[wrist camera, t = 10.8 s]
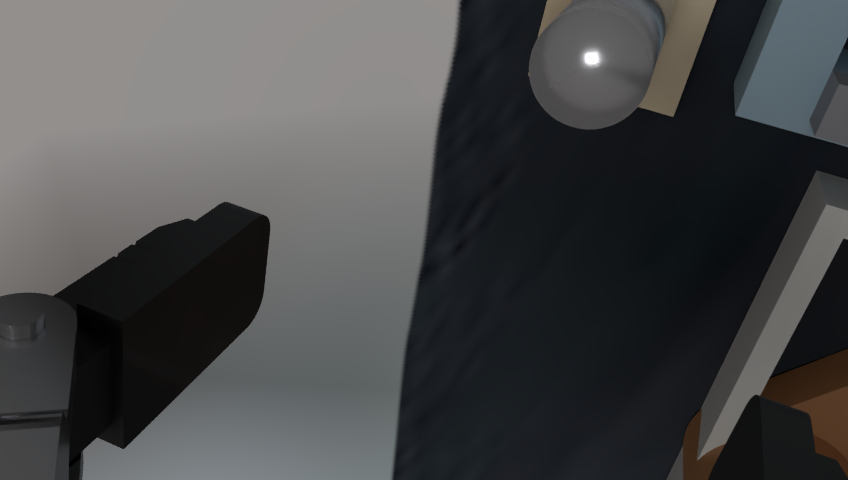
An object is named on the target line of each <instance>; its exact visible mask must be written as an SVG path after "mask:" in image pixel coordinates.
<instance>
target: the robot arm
mask: <svg viewBox="0 0 848 480" xmlns="http://www.w3.org/2000/svg"><path fill="white" fill-rule="evenodd" d="M269 236H270V222H269V219H268V217H267V216H264V215H262V214H259V213H256V212H254V211H251V210H248V209H245V208H242V207H239V206H237V205H234V204H231V203H228V202H224V203H221V204H219V205H218V206H216V207H215V208H214V209H212V210H211V211H209V212H208V213H206V214H205V215H203V216H202V217H201V218H199V219H198V220H196V221H193V220H190V219H185V220H181V221H178V222H174V223H171V224H167V225H164V226H160V227H158V228H156V229H155V230H153V231H152V232H150V233H148V234H147V235H145V236H144V237H142V238H141V239H139V240H138V241H136V244H135V245H130V246H129V247H127V248H126V249H124V250H123V251H121V252H120V253H118V256H117V257H112V258H110V259H109V260H107V261H106V262H105V263H103V264H101V265H100V266H98V267H97V268H95V269H94V270H92V271H91V272H89V273H88V274H86V275H84V276H83V277H81V278H80V279H78V280H77V281H75V282H74V283H72V284H71V285H69V286H68V287H66V288H65V289H63V290H62V291H60V292H59V293H57V294H55V295H54V296H51V295H47V294H40V293H16V294H9V295H5V296H1V297H0V480H82V476H83V450H84V449H85V448H86V447H87V446H88V445H89V444H90V443H91V442H92V441H93V440H95V439H96V438H97V437H98V438H100V439H102V440H105V441H107V442H109V443H111V444H113V445H116V446H118V447H120V448H122V449H124V448H125V447H126V446H127V445H128V444H129V443H131V441H133V439H135V438H136V437H137V436H138V435H139V434H140V433H141V431H143V430H144V429H145V427H147V426H148V425H149V424H150V423H151V421H153V420H154V419H155V418H156V417H157V416H158V415H159V414H160V413H161V412H162V411H163V410H164V409H165V408H166V407H167V406H168V405H169V404H170V403H171V402H172V401H173V400H174V399H175V398H176V397H177V396H178V395H179V394H180V393H181V392H182V391H183V390H184V389H185V388H186V387H187V386H188V385H189V384H190V383H191V382H192V381H193V380H194V379H195V378H196V377H197V376H198V375H200V374H201V372H202V371H204V369H206V368H207V367H208V366H209V365H210V364H211V363H212V362H213V361H214V360H215V359H216V358H217V357H218V356H219V355H220V354H221V353H222V352H223V351H224V350H225V349H226V348H227V347H228V346H229V345H230V344H231V343H232V342H233V341H234V340H235V339H236V338H237V337H238V336H239V335H240V334H241V333H242V332H243V331H244V330H245V329H246V328H247V327H248V326H249V325H250V324H251V322H252V321H253V319H254V318H255V315H256V314H257V312H258V309H259V307H260V304H261V301H262V298H263V293H264V284H265V275H266V265H267V255H268V245H269ZM708 480H848V477H847V475H846V474H845V472H844V471H843V469H842V468H841V466H840V465H839V463H838V462H837V460H834V459H832V458H829V457H826V456H824V455H821V454H818V453H816V451H815V444H814V437H813V430H812V423H811V418H810V415H809V414H808V413H807V412H804V411H801V410H798V409H795V408H793V407H790V406H787V405H784V404H782V403H779V402H776V401H773V400H771V399H768V398H765V397H762V396H759V395H754V396H753V397H752V398H751V399H750V400H749V401H748V403H747V405H746V406H745V408H744V410H743V412H742V414H741V416H740V417H739V419H738V421H737V423H736V425H735V427H734V429H733V431H732V432H731V434H730V436H729V438H728V440H727V442H726V444H725V445H724V447H723V449H722V451H721V453H720V455H719V457H718V459H717V460H716V462H715V464H714V466H713V468H712V470H711V473H710V475H709V478H708Z"/></svg>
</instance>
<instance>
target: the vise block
mask: <svg viewBox="0 0 848 480" xmlns="http://www.w3.org/2000/svg"><path fill="white" fill-rule="evenodd" d="M847 38H848V0H767V1H766V4H765V6H764V9H763V11H762V14H761V16H760V19H759V21H758V24H757V26H756V29H755V31H754V34H753V36H752V39H751V41H750V44H749V46H748V49H747V51H746V54H745V56H744V59H743V61H742V64H741V66H740V69H739V71H738V74H737V76H736V79H735V81H734V100H735V116H739V117H743V118H746V119H750V120H753V121H757V122H760V123H764V124H768V125H771V126H775V127H778V128H782V129H785V130H789V131H793V132H796V133H800V134H803V135H807V136H810V137H814V138H818V139H821V140H825V141H828V142H832V143H835V144H839V145H843V146H846V147H848V49H844V48H843V46H844V44H845V42H846V40H847Z"/></svg>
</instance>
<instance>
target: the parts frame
mask: <svg viewBox="0 0 848 480" xmlns="http://www.w3.org/2000/svg"><path fill="white" fill-rule="evenodd" d="M843 238H844V239H847V240H848V179H845V178H841V177H838V176H834V175H831V174H827V173H824V172H820V171H817V170H816V172H815V175H814V177H813V179H812V181H811V183H810V185H809V187H808V189H807V191H806V193H805V195H804V197H803V199H802V201H801V203H800V205H799V207H798V210H797V212H796V214H795V216H794V218H793V220H792V222H791V224H790V226H789V228H788V230H787V232H786V234H785V236H784V238H783V240H782V242H781V245H780V247H779V249H778V251H777V253H776V255H775V257H774V259H773V261H772V263H771V265H770V267H769V269H768V271H767V273H766V275H765V277H764V280H763V282H762V284H761V286H760V288H759V290H758V292H757V294H756V296H755V298H754V300H753V302H752V304H751V306H750V308H749V310H748V312H747V315H746V317H745V319H744V321H743V323H742V325H741V327H740V329H739V331H738V333H737V335H736V337H735V339H734V341H733V343H732V345H731V347H730V350H729V352H728V354H727V356H726V358H725V360H724V362H723V364H722V366H721V368H720V370H719V372H718V374H717V376H716V378H715V380H714V382H713V385H712V387H711V389H710V391H709V393H708V395H707V397H706V399H705V401H704V403H703V405H702V407H701V409H702V413H701V425H700V435H699V444H698V454H697V460H699V459H700V458H701V457H702V456H703V455H705V454H706V453H707V452H709V451H711V450H712V449H714V448H716V447H719V446H721V445H723V444H726V442H727V440H728V438H729V436H730V434H731V432H732V431H733V429H734V427H735V425H736V423H737V421H738V419H739V417H740V416H741V414H742V412H743V410H744V408H745V406H746V405H747V403H748V401H749V400H750V399H751V398H752V397H753V396H754V395H759V396H760V395H761V393H762V391H763V389H764V387H765V385H766V383H767V381H768V380H769V378H770V376H771V374H772V372H773V370H774V368H775V366H776V365H777V363H778V361H779V359H780V357H781V355H782V353H783V351H784V349H785V348H786V346H787V344H788V342H789V340H790V338H791V336H792V334H793V333H794V331H795V329H796V327H797V325H798V323H799V321H800V319H801V317H802V316H803V314H804V312H805V310H806V308H807V306H808V304H809V302H810V301H811V299H812V297H813V295H814V293H815V291H816V289H817V287H818V285H819V284H820V282H821V280H822V278H823V276H824V274H825V272H826V270H827V269H828V267H829V265H830V263H831V261H832V259H833V257H834V255H835V253H836V252H837V250H838V248H839V246H840V244H841V242H842V240H843ZM701 409H700V410H701ZM666 480H683V446H682V448H681V450H680V453H679V455H678V457H677V459H676V461H675V463H674V465H673V467H672V469H671V471H670V473H669V475H668V477H667V479H666Z"/></svg>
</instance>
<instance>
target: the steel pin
mask: <svg viewBox="0 0 848 480" xmlns="http://www.w3.org/2000/svg"><path fill="white" fill-rule="evenodd" d="M675 1H676V0H573V1H572V2H571V3H570V4H569V5H568V6H567V7H566V8H565V9H564V10H563V11H562V12H561V13H560V14H559V15H558V16H557V17H556V18H555V19H554V20H553V21H552V22H551V23H550V24H549V25H548V26H547V27H546V28H545V29H544V31H543V32H542V33H541V34H540V36H539V37H538V39H537V41H536V43H535V45H534V47H533V50H532V53H531V56H530V62H529V78H530V83H531V87H532V90H533V93H534V95H535V97H536V99H537V100H538V102H539V103H540V105H541V106H542V107H543V108H544V110H545V111H546V112H547V113H548V114H550V115H551V116H552V117H553V118H555V119H556V120H558V121H559V122H561V123H563V124H565V125H568V126H571V127H575V128H579V129H600V128H605V127H608V126H611V125H614V124H616V123H618V122H620V121H622V120H623V119H625V118H626V117H628V116H629V115H630V114H631V113H632V112H633V111H634V110H635V109H636V108H637V107H638V106H639V105H640V103H641V102H642V100H643V98H644V97H645V95H646V93H647V90H648V88H649V85H650V82H651V79H652V75H653V72H654V69H655V66H656V63H657V60H658V57H659V54H660V50H661V47H662V44H663V41H664V38H665V35H666V32H667V29H668V26H669V22H670V19H671V16H672V13H673V10H674V6H675Z"/></svg>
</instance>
